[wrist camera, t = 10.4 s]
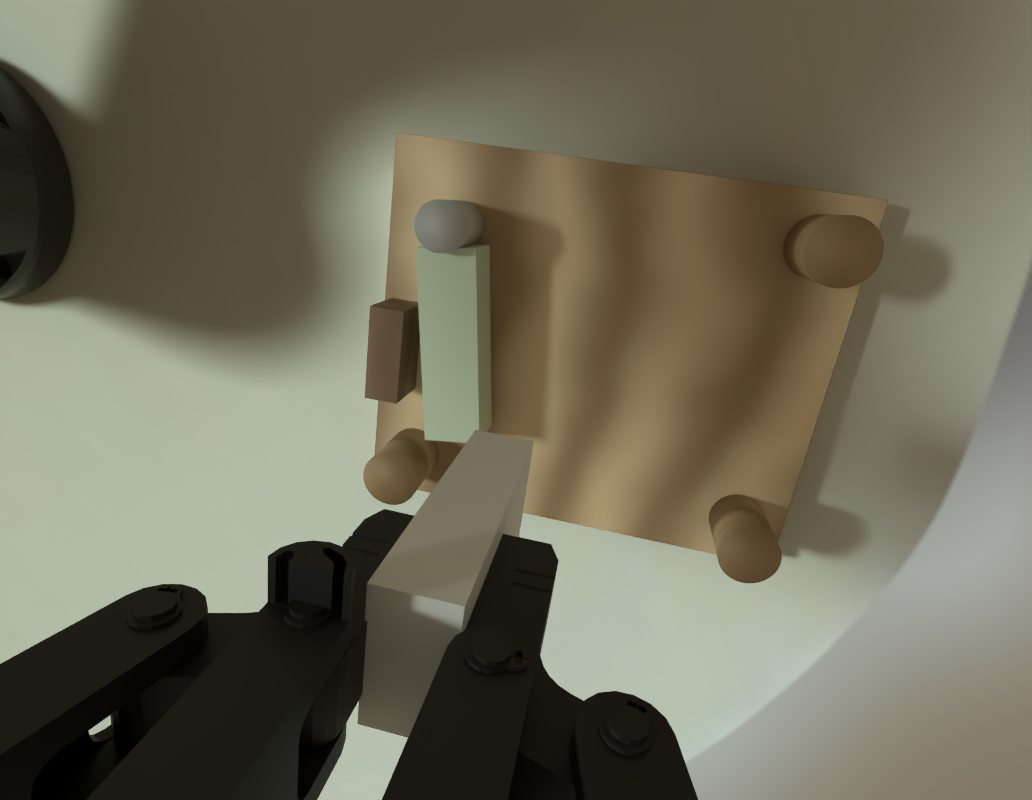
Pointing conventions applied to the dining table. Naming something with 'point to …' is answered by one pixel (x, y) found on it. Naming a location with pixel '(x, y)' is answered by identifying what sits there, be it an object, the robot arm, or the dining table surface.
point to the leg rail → (453, 320)
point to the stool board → (632, 339)
